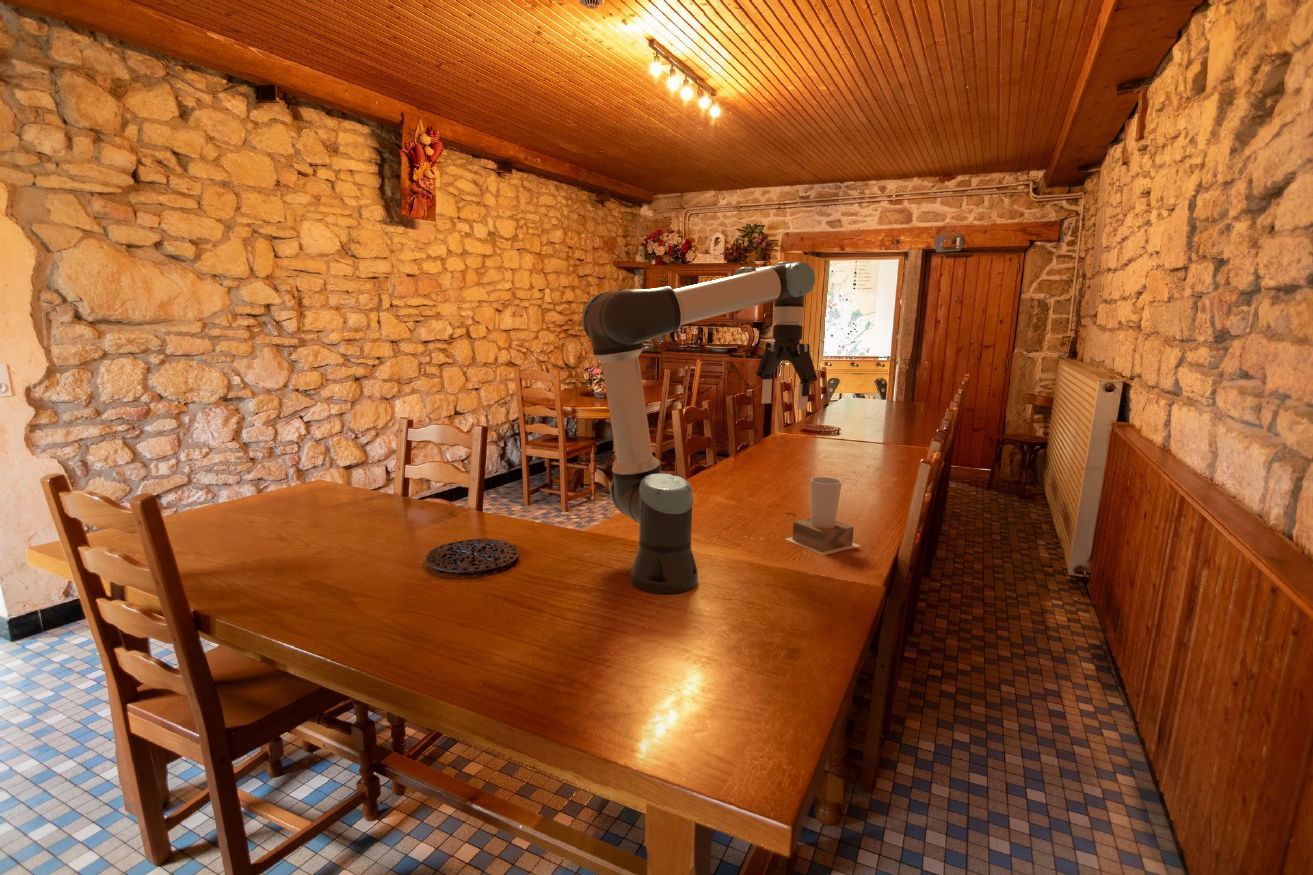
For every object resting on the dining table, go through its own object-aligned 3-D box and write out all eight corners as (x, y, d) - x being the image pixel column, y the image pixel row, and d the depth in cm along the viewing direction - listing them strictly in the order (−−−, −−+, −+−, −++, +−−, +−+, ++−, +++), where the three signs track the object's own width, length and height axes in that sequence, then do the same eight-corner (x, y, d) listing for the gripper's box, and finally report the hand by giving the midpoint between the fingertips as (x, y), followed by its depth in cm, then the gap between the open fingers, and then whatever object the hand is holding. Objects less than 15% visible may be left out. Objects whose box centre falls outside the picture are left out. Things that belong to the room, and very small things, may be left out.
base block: (822, 552, 157) (824, 533, 156) (792, 539, 166) (793, 521, 166) (852, 545, 163) (853, 526, 162) (821, 533, 172) (822, 516, 171)
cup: (832, 530, 158) (835, 485, 156) (802, 524, 163) (805, 480, 161) (843, 523, 165) (846, 480, 163) (814, 517, 169) (817, 475, 167)
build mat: (822, 557, 155) (823, 554, 155) (784, 540, 167) (784, 538, 167) (860, 547, 162) (860, 545, 162) (821, 532, 174) (821, 530, 174)
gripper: (835, 324, 150) (829, 410, 153) (766, 324, 171) (762, 400, 174) (813, 323, 146) (807, 412, 149) (745, 323, 167) (742, 401, 170)
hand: (783, 406), depth 162 cm, fingers open, 13 cm apart
